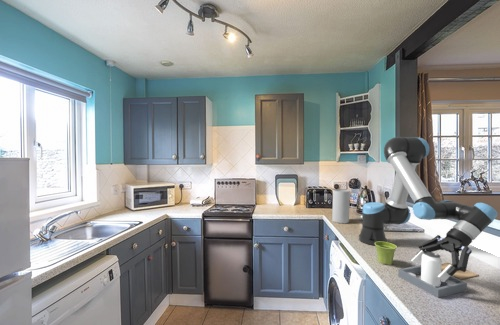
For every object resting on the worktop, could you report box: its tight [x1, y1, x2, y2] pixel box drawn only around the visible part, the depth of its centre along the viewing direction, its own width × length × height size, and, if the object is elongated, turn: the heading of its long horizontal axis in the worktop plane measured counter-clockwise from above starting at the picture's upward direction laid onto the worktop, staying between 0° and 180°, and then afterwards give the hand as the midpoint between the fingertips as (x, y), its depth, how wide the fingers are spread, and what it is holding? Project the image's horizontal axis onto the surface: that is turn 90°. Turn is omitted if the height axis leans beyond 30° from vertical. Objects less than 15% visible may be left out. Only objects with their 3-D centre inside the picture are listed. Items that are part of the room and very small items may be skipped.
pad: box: [441, 262, 480, 281], centre depth 106 cm, size 12×12×1 cm
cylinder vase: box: [331, 188, 351, 224], centre depth 185 cm, size 12×12×25 cm
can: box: [420, 251, 443, 288], centre depth 95 cm, size 6×6×12 cm
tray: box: [397, 264, 468, 298], centre depth 95 cm, size 16×16×3 cm
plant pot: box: [375, 241, 398, 266], centre depth 114 cm, size 9×9×9 cm
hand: (426, 270), depth 95 cm, fingers open, 13 cm apart
